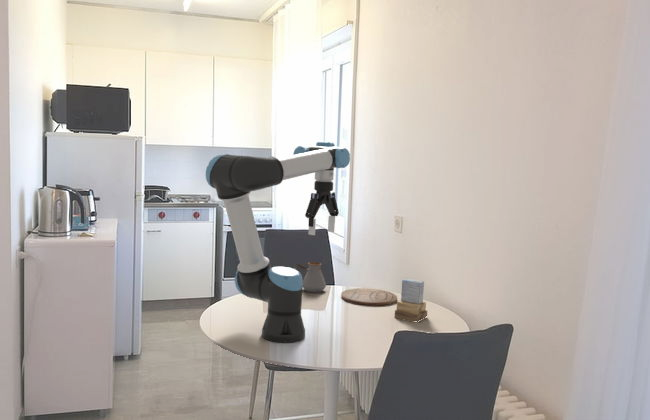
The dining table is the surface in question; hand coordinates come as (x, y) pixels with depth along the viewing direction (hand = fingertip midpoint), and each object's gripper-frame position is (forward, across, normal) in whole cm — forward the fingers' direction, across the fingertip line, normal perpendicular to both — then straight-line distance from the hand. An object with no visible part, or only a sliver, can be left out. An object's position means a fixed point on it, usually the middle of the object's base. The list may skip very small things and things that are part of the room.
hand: (321, 233), depth 230 cm
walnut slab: (+32, +17, -34) cm, 50 cm away
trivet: (+32, +31, -6) cm, 45 cm away
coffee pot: (+32, +20, +20) cm, 43 cm away
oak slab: (+29, +17, -33) cm, 47 cm away
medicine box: (+26, +17, -34) cm, 45 cm away
